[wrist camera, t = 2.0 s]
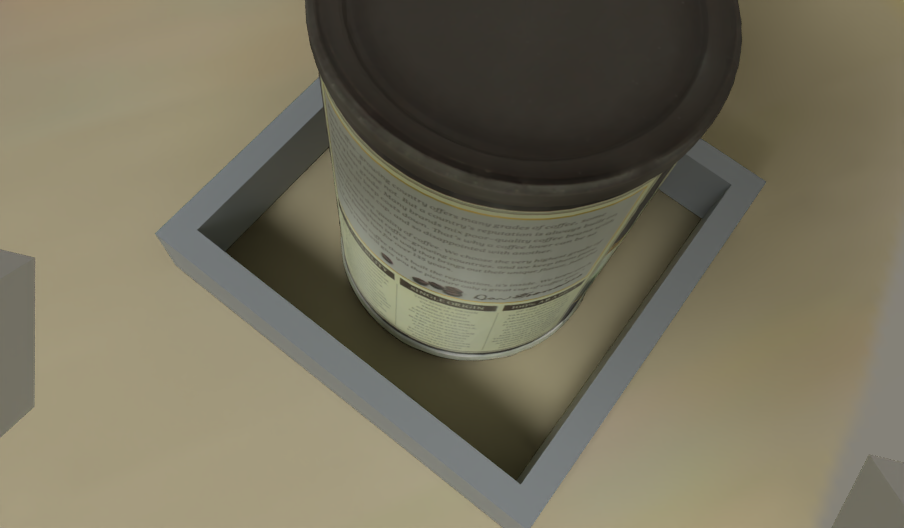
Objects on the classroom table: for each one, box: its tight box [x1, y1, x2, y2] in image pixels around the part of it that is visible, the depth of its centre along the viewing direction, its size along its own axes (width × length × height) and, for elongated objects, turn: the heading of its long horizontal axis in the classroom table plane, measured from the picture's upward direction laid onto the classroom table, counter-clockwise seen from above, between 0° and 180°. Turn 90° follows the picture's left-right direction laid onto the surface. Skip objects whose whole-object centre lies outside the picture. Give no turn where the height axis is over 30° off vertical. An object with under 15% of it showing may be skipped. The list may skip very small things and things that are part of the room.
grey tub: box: [155, 77, 766, 528], centre depth 30 cm, size 16×16×3 cm
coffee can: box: [305, 0, 742, 361], centre depth 25 cm, size 10×10×14 cm
